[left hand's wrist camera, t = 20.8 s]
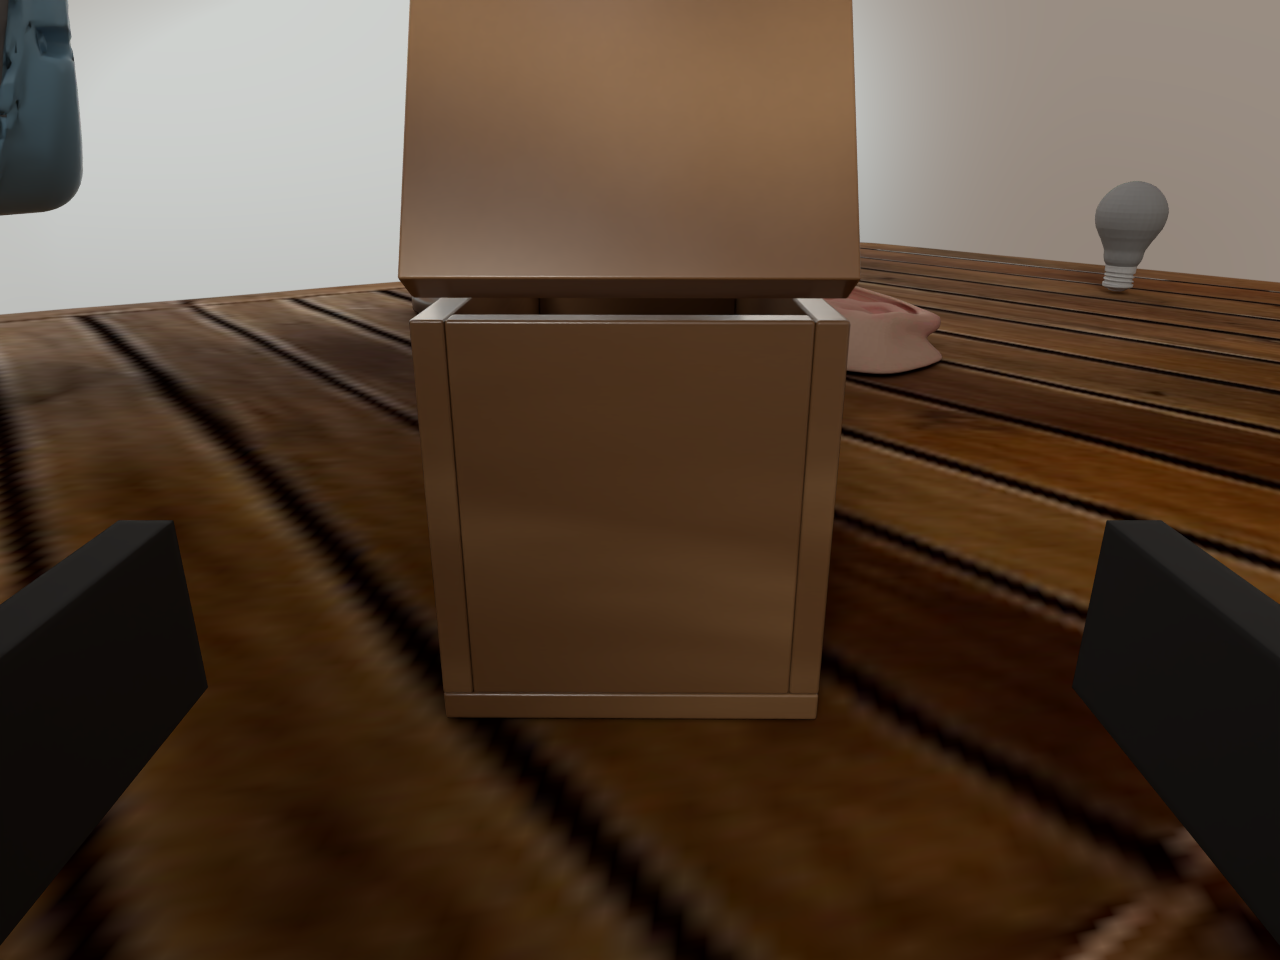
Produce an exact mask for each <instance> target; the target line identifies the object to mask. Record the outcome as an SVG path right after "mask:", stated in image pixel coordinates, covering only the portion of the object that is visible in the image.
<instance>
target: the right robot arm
mask: <svg viewBox="0 0 1280 960" xmlns="http://www.w3.org/2000/svg"><path fill="white" fill-rule="evenodd" d="M439 299H440V298H414V297H412V304H413V309H414V311H416V312H418V313H421V312H422V311H424V310H425V309H426V308H428V307H429V306H431V305H432V304H433V303H435V302H436V301H438V300H439Z"/></svg>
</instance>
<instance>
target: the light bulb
mask: <svg viewBox="0 0 1280 960" xmlns="http://www.w3.org/2000/svg"><path fill="white" fill-rule="evenodd" d="M1168 213H1169V208H1168V203H1167V200H1166V198H1165V196H1164V195H1163V193H1162V192H1161V191H1160V190H1159V189H1158V188H1157V187H1156V186H1154V185H1152V184H1149V183H1146V182H1141V181H1133V182H1128V183H1124V184H1121V185H1119V186H1117V187H1115V188H1114V189H1112V190H1111V191H1110V192H1109V193H1108V194H1106V196H1105V197H1104V198H1103V199H1102V200H1101V202H1100V204H1099V205H1098V207H1097V210H1096V215H1095V224H1096V228H1097V231H1098V234H1099V236H1100V238H1101V241H1102V244H1103V247H1104V261H1105V263H1106V265H1105V266H1106V267H1105V271H1107V272H1105V273H1104V274H1105V275H1106V276H1105V277H1103V278H1104V279H1105V281H1103V283H1102V285H1103V286H1105V287H1106V288H1108V289H1109V290H1111V291H1124V290H1127V289H1129V288H1131V287H1133V285H1132V284H1131V283H1132V282H1134V281H1132V278H1135V277H1133V274H1135V272H1136V268H1137V266H1138V264H1139V263H1140V262H1141V260H1142V258H1143V255H1144V252H1145V250H1146V249H1147V248H1148V246H1149V245H1150V244H1151V242H1152V241H1153V240H1154V239H1155V238H1156V236H1157V235H1158V234H1159V233H1160V232H1161V230H1162V229H1163V227H1164V225H1165V223H1166V221H1167V217H1168Z"/></svg>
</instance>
